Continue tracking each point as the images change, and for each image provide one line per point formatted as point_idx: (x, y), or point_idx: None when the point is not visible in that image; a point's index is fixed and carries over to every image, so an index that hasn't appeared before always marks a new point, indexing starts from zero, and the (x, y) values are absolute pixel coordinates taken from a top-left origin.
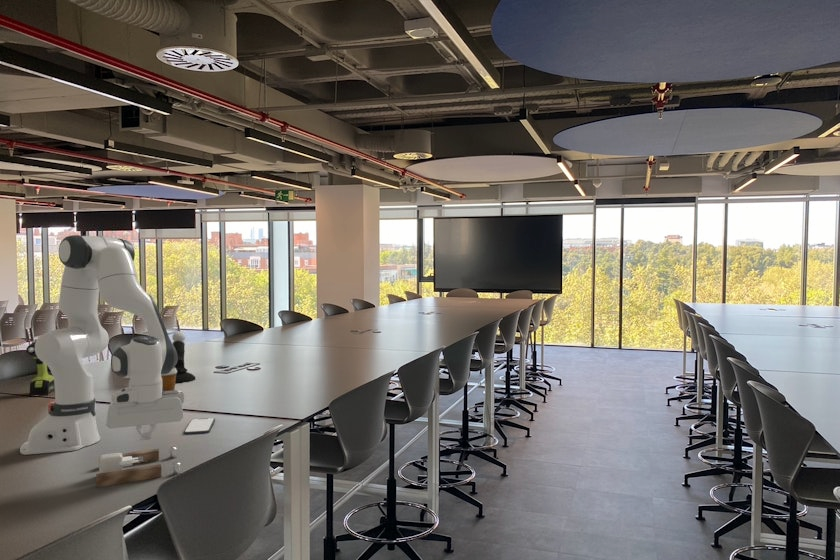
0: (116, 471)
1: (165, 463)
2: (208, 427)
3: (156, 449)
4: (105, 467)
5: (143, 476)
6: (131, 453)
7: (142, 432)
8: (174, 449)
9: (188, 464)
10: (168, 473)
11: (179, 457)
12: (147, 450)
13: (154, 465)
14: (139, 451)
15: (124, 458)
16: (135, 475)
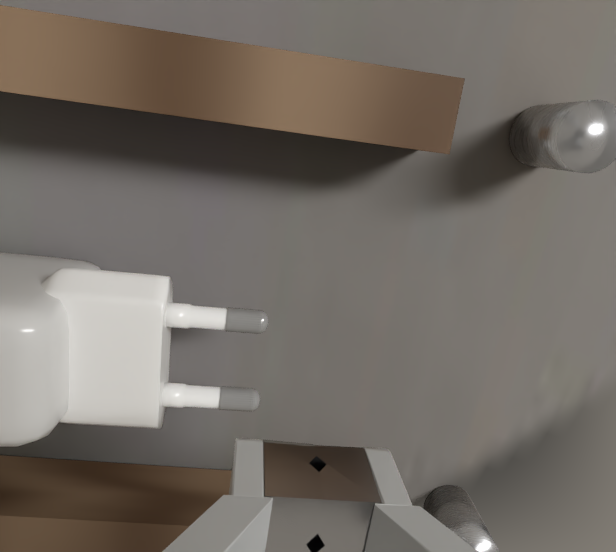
0: (34, 528)
1: (442, 261)
2: None
3: (440, 91)
4: None
5: None
6: (181, 73)
7: (267, 517)
8: (589, 169)
9: (569, 379)
10: (403, 479)
11: (578, 172)
12: (352, 66)
13: None
14: (269, 48)
15: (88, 358)
16: None
